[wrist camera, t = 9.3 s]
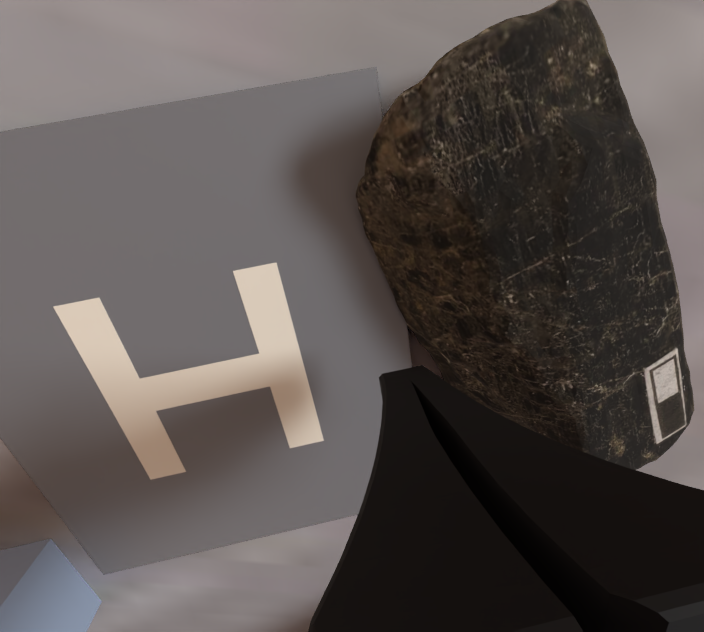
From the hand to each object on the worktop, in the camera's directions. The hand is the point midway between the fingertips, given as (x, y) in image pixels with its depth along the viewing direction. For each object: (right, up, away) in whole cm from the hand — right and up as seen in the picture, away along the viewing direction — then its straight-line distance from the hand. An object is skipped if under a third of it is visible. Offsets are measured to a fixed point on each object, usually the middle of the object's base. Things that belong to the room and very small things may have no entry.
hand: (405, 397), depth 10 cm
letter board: (-7, 0, +3) cm, 8 cm away
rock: (+4, +4, +3) cm, 7 cm away
